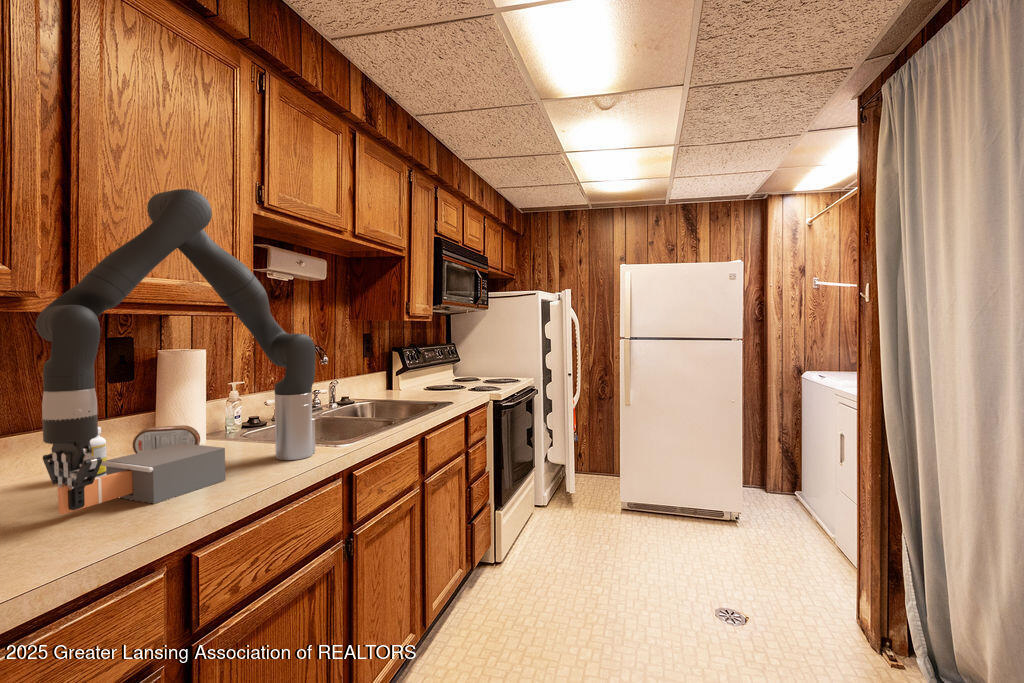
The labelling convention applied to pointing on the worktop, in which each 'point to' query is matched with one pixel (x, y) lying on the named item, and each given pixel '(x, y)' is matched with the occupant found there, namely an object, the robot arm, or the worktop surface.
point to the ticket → (100, 490)
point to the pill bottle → (99, 451)
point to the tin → (164, 437)
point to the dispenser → (170, 470)
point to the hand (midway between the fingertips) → (73, 507)
